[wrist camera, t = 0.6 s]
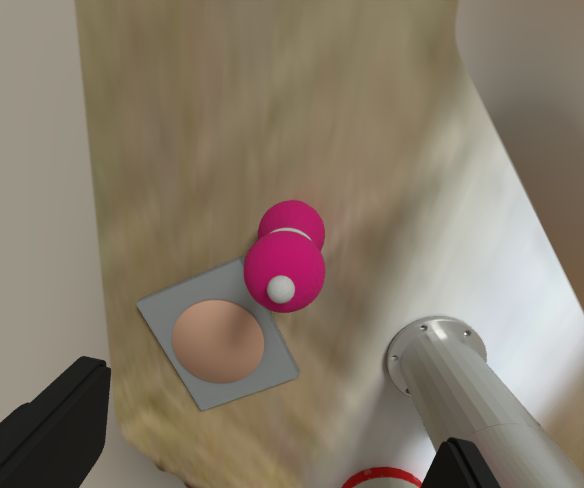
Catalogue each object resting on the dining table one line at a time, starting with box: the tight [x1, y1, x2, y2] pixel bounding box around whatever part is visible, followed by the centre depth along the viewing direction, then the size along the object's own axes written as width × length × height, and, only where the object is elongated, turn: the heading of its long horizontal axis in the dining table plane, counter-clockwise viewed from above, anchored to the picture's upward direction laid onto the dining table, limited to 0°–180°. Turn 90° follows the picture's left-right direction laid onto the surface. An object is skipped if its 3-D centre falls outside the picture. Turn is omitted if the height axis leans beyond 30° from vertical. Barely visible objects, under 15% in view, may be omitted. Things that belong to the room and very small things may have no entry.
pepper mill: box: [243, 200, 325, 313], centre depth 29 cm, size 7×7×20 cm
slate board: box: [136, 256, 299, 411], centre depth 42 cm, size 18×15×2 cm
